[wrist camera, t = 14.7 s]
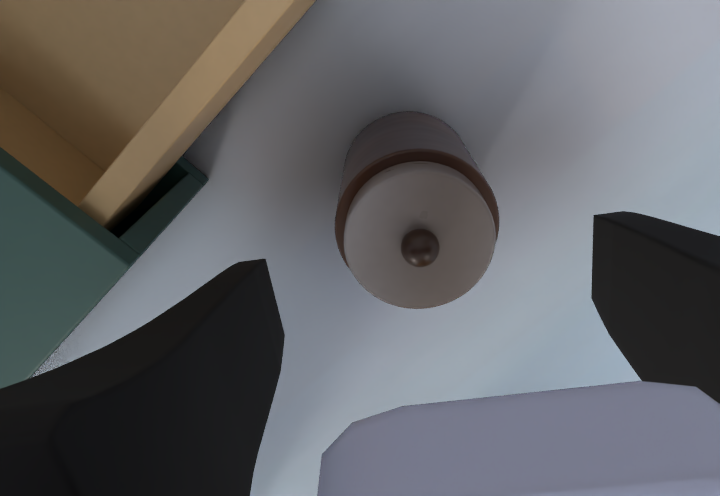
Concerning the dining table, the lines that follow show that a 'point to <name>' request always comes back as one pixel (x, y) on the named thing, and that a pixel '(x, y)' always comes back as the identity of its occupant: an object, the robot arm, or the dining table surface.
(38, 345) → the cabinet
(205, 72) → the drawer
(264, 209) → the dining table surface
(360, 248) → the pepper mill
